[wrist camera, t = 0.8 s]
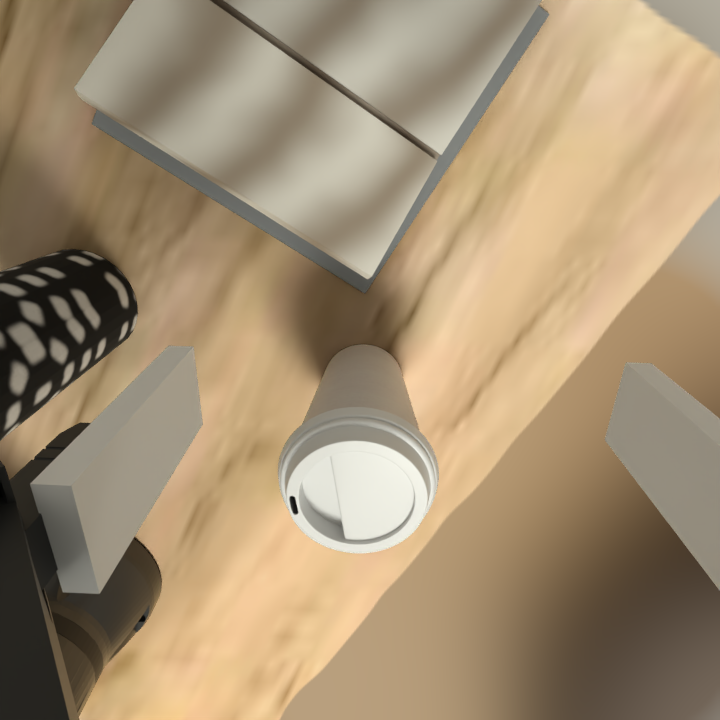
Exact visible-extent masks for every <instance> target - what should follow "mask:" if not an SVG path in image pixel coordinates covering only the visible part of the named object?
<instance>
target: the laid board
mask: <svg viewBox="0 0 720 720" xmlns="http://www.w3.org/2000/svg"><path fill="white" fill-rule="evenodd" d="M210 1H212V2H213V3H214V4H216V5H217V6H219V7H220V8H221V9H223V10H224V11H226V12H227V13H229V14H230V15H231V16H233V17H234V18H236V19H237V20H238V21H240V22H241V23H243V24H244V25H246V26H247V27H248V28H250V29H251V30H253V31H254V32H255V33H257V34H258V35H260V36H261V37H262V38H264V39H265V40H267V41H268V42H270V43H271V44H272V45H274V46H275V47H277V48H278V49H279V50H281V51H282V52H284V53H285V54H287V55H288V56H289V57H291V58H292V59H294V60H295V61H296V62H298V63H299V64H301V65H302V66H304V67H305V68H306V69H308V70H309V71H311V72H312V73H313V74H315V75H316V76H318V77H319V78H321V79H322V80H323V81H325V82H326V83H328V84H329V85H330V86H332V87H333V88H335V89H336V90H337V91H339V92H340V93H342V94H343V95H345V96H346V97H347V98H349V99H350V100H352V101H353V102H354V103H356V104H357V105H359V106H360V107H362V108H363V109H364V110H366V111H367V112H369V113H370V114H371V115H373V116H374V117H376V118H377V119H379V120H380V121H381V122H383V123H384V124H386V125H387V126H388V127H390V128H391V129H393V130H394V131H396V132H397V133H398V134H400V135H401V136H403V137H404V138H405V139H407V140H408V141H410V142H411V143H413V144H414V145H415V146H417V147H418V148H420V149H421V150H422V151H424V152H425V153H427V154H428V155H429V156H431V157H432V158H434V159H435V160H437V159H438V157H439V156H440V155H442V154H443V152H444V151H445V149H446V147H447V146H448V144H449V143H450V141H451V140H452V138H453V137H454V135H455V134H456V132H457V130H458V129H459V127H460V126H461V124H462V123H463V121H464V120H465V118H466V117H467V115H468V113H469V112H470V110H471V109H472V107H473V106H474V104H475V103H476V101H477V100H478V98H479V96H480V95H481V93H482V92H483V90H484V89H485V87H486V86H487V84H488V83H489V81H490V80H491V78H492V76H493V75H494V73H495V72H496V70H497V69H498V67H499V66H500V64H501V63H502V61H503V59H504V58H505V56H506V55H507V53H508V52H509V50H510V49H511V47H512V46H513V44H514V42H515V41H516V39H517V38H518V36H519V35H520V33H521V32H522V30H523V29H524V27H525V26H526V24H527V22H528V21H529V19H530V18H531V16H532V15H533V13H534V12H535V10H536V9H537V7H538V5H539V4H540V2H541V1H542V0H210Z"/></svg>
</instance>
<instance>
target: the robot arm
mask: <svg viewBox="0 0 720 720" xmlns="http://www.w3.org/2000/svg"><path fill="white" fill-rule="evenodd" d="M202 424H203V422H202V414H201V405H200V397H199V389H198V380H197V372H196V364H195V355H194V347H190V346H168V347H167V348H166V349H165V350H164V351H163V352H162V353H161V354H160V355H159V356H158V357H157V358H156V359H155V360H154V361H153V362H152V363H151V364H150V365H149V366H148V367H147V368H146V369H145V370H144V371H143V372H142V373H141V374H140V375H139V376H138V377H137V378H136V379H135V380H134V381H133V382H132V383H131V384H130V385H129V386H128V387H127V388H126V389H125V390H124V391H123V392H122V393H121V394H120V395H119V396H118V397H117V398H116V399H115V400H114V401H113V402H112V403H111V404H110V405H109V406H108V407H107V408H106V409H105V410H104V411H103V412H102V413H101V414H100V415H99V416H98V417H97V418H96V419H95V420H94V421H93V422H92V423H79V424H77V425H75V426H73V427H71V428H69V429H67V430H66V431H64V432H62V433H60V434H59V435H58V436H57V437H56V438H55V439H53V440H52V441H51V442H50V443H49V444H48V445H47V446H46V449H43V450H42V451H41V452H40V453H38V454H37V455H36V456H35V457H34V458H35V459H34V460H31V461H30V462H29V463H28V464H27V465H26V466H25V467H23V468H22V469H21V470H20V471H19V472H18V473H17V474H16V475H15V476H14V477H13V478H12V479H11V480H9V478H8V475H7V472H6V469H5V466H4V465H3V464H2V462H1V461H0V720H79V716H80V714H81V712H82V710H83V708H84V706H85V704H86V702H87V700H88V698H89V696H90V694H91V692H92V690H93V688H94V686H95V684H96V682H97V680H98V678H99V676H100V674H101V673H102V671H103V669H104V667H105V666H106V665H107V664H108V663H109V662H110V661H111V660H112V658H113V657H114V656H115V655H116V654H117V653H118V652H119V651H120V650H121V649H122V648H123V647H124V646H125V645H126V644H127V642H128V641H129V640H130V639H131V638H132V637H133V636H134V635H135V633H136V632H137V631H139V630H140V629H141V627H142V626H143V625H144V624H145V623H146V622H147V620H148V618H149V617H150V615H151V613H152V611H153V609H154V607H155V605H156V603H157V601H158V598H159V596H160V592H161V576H160V573H159V570H158V567H157V565H156V563H155V561H154V560H153V558H152V557H151V555H150V554H149V553H148V552H147V550H146V549H145V548H144V547H143V546H142V545H141V544H139V543H138V542H137V541H136V540H135V539H133V538H134V537H135V535H136V533H137V532H138V530H139V528H140V527H141V525H142V523H143V522H144V520H145V518H146V517H147V515H148V513H149V512H150V510H151V509H152V507H153V505H154V504H155V502H156V500H157V499H158V497H159V495H160V494H161V492H162V490H163V489H164V487H165V485H166V484H167V482H168V480H169V479H170V477H171V476H172V474H173V472H174V471H175V469H176V467H177V466H178V464H179V462H180V461H181V459H182V457H183V456H184V454H185V452H186V451H187V449H188V448H189V446H190V444H191V443H192V441H193V439H194V438H195V436H196V434H197V433H198V431H199V429H200V428H201V426H202ZM605 441H606V442H607V443H608V445H609V446H610V447H611V449H612V450H613V451H614V453H615V454H616V455H617V456H618V458H619V459H620V460H621V462H622V463H623V464H624V466H625V467H626V468H627V470H628V471H629V472H630V473H631V475H632V476H633V477H634V479H635V480H636V481H637V483H638V484H639V485H640V487H641V488H642V489H643V490H644V492H645V493H646V494H647V496H648V497H649V498H650V499H651V501H652V502H653V504H654V505H655V506H656V508H657V509H658V510H659V511H660V513H661V514H662V515H663V517H664V518H665V519H666V521H667V522H668V523H669V524H670V526H671V527H672V528H673V530H674V531H675V532H676V534H677V535H678V536H679V538H680V539H681V540H682V542H683V543H684V544H685V545H686V547H687V548H688V549H689V551H690V552H691V553H692V555H693V556H694V557H695V559H696V560H697V561H698V563H699V564H700V565H701V566H702V568H703V569H704V570H705V572H706V573H707V574H708V576H709V577H710V578H711V580H712V581H713V582H714V583H715V585H716V586H717V587H718V589H719V590H720V419H719V418H718V417H717V416H716V415H714V414H713V413H712V412H711V411H709V410H708V409H707V408H706V407H704V406H703V405H702V404H701V403H700V402H698V401H697V400H695V398H693V397H692V396H691V395H690V394H688V393H687V392H686V391H685V390H683V389H682V388H681V387H680V386H679V385H677V384H676V383H675V382H674V381H672V380H671V379H670V378H669V377H667V376H666V375H665V374H664V373H662V372H661V371H660V370H659V369H657V368H656V367H655V366H654V365H653V364H651V363H626V364H625V367H624V371H623V375H622V378H621V382H620V386H619V389H618V393H617V397H616V400H615V404H614V408H613V412H612V415H611V419H610V422H609V426H608V430H607V433H606V437H605Z"/></svg>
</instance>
